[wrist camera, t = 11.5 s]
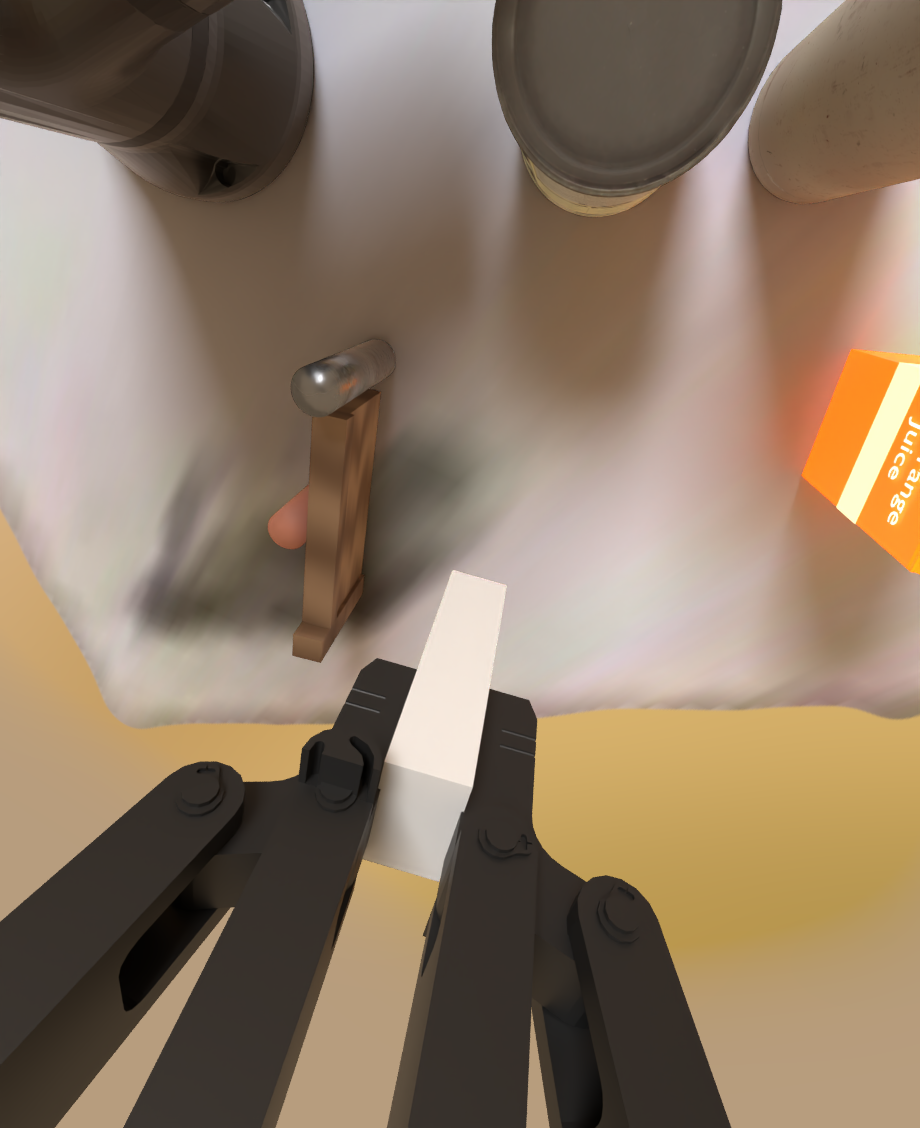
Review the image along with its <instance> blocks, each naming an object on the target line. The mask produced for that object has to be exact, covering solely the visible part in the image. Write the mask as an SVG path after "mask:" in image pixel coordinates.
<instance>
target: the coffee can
mask: <svg viewBox="0 0 920 1128" xmlns="http://www.w3.org/2000/svg"><path fill="white" fill-rule="evenodd" d="M781 10H782V0H496V3H495V9H494V17H493V25H492V60H493V70H494V77H495V83H496V89H497V93H498V97H499V101H500V104H501V108H502V111H503V114H504V117H505V119H506V122H507V124H508V126H509V128H510V130H511V132H512V134H513V136H514V138H515V140H516V141H517V143H518V144H519V146H520V148H521V152H522V155H523V159H524V162H525V165H526V167H527V169H528V172H529V174H530V176H531V177H532V179H533V181H534V182H535V184H536V186H537V187H538V189H539V190H540V191H541V192H542V193H543V194H544V195H545V196H546V197H547V198H548V199H549V200H550V201H551V202H553V203H554V204H555V205H557V206H558V207H560V208H562V209H564V210H566V211H568V212H571V213H574V214H577V215H581V216H587V217H603V216H610V215H614V214H617V213H620V212H623V211H626V210H628V209H630V208H632V207H634V206H636V205H637V204H639V203H641V202H642V201H644V200H645V199H646V198H648V197H649V196H650V195H651V194H653V193H654V192H655V191H656V190H658V189H659V187H660V186H662V185H664V184H667V183H668V182H670V181H672V180H674V179H676V178H677V177H679V176H681V175H682V174H684V173H685V172H686V171H688V170H690V169H691V168H692V167H694V166H695V165H696V164H698V163H699V162H700V161H701V160H702V159H704V158H705V157H706V156H707V155H708V154H709V153H710V152H711V151H712V150H713V149H714V148H715V147H716V146H717V145H718V144H719V143H720V142H721V141H722V140H723V139H724V138H725V136H726V135H727V134H728V133H729V131H730V130H731V129H732V127H733V126H734V124H735V123H736V122H737V120H738V119H739V117H740V116H741V115H742V113H743V111H744V110H745V108H746V107H747V105H748V104H749V102H750V100H751V98H752V96H753V95H754V93H755V91H756V89H757V87H758V85H759V83H760V80H761V78H762V76H763V74H764V71H765V69H766V66H767V63H768V61H769V58H770V55H771V52H772V49H773V45H774V42H775V38H776V34H777V30H778V26H779V20H780V15H781Z"/></svg>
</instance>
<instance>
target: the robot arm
mask: <svg viewBox="0 0 920 1128" xmlns="http://www.w3.org/2000/svg"><path fill="white" fill-rule="evenodd" d="M312 89H313V52H312V43H311V36H310V30H309V25H308V20H307V15H306V12H305V8H304V4H303V1H302V0H0V118H3V119H7V120H11V121H15V122H19V123H22V124H26V125H30V126H34V127H38V128H42V129H46V130H50V131H54V132H58V133H62V134H66V135H70V136H74V137H78V138H82V139H86V140H90V141H94V142H97V143H98V144H99V145H101V146H102V147H103V148H104V149H106V150H107V151H108V152H109V153H111V154H112V155H113V156H114V157H116V158H117V159H118V160H119V161H121V162H122V163H123V164H124V165H126V166H127V167H128V168H129V169H131V170H132V171H133V172H134V173H136V174H137V175H139V176H140V177H141V178H143V179H144V180H146V181H148V182H149V183H151V184H153V185H155V186H157V187H159V188H161V189H163V190H165V191H167V192H170V193H172V194H176V195H179V196H182V197H187V198H192V199H197V200H203V201H210V202H228V201H235V200H239V199H242V198H245V197H248V196H250V195H252V194H255V193H256V192H258V191H260V190H261V189H263V188H264V187H266V186H267V185H268V184H270V183H271V182H272V181H273V180H274V179H275V178H276V177H277V176H278V175H279V174H280V173H281V172H282V170H283V169H284V168H285V167H286V165H287V164H288V162H289V161H290V159H291V158H292V156H293V154H294V153H295V151H296V149H297V147H298V144H299V142H300V140H301V137H302V135H303V132H304V129H305V126H306V123H307V119H308V115H309V110H310V104H311V98H312ZM506 588H507V585H505V584H501V583H497V582H494V581H490V580H487V579H483V578H480V577H476V576H472V575H469V574H465V573H462V572H458V571H455V570H452V573H451V576H450V579H449V581H448V584H447V587H446V590H445V593H444V595H443V598H442V601H441V604H440V607H439V610H438V612H437V615H436V618H435V621H434V624H433V626H432V629H431V632H430V635H429V638H428V640H427V643H426V646H425V649H424V652H423V654H422V657H421V660H420V663H419V666H418V668H417V669H413V668H410V667H406V666H403V665H399V664H396V663H392V662H389V661H385V660H382V659H378V658H377V659H375V660H374V661H373V662H371V663H370V664H369V665H367V666H366V667H365V668H363V669H362V670H361V671H360V673H359V675H358V677H357V679H356V681H355V683H354V685H353V688H352V690H351V692H350V694H349V696H348V698H347V700H346V702H345V704H344V706H343V708H342V710H341V712H340V714H339V716H338V718H337V720H336V722H335V724H334V726H333V728H332V729H330V730H324V731H322V732H320V733H319V734H317V735H315V736H313V737H311V738H310V739H309V741H308V742H307V743H306V744H305V746H304V747H303V748H302V753H301V763H300V770H299V775H297V776H295V777H292V778H289V779H286V780H282V781H272V782H243V781H242V777H241V775H240V774H238V772H236V771H235V770H234V769H233V768H232V767H231V766H228V765H225V764H222V763H219V762H197V763H194V764H191V765H187V766H184V767H182V768H180V769H179V770H177V771H176V772H174V773H172V774H171V775H169V776H168V777H167V778H165V779H164V780H163V781H162V782H161V783H160V784H159V785H157V786H156V787H155V788H154V789H153V790H152V791H150V792H149V793H148V794H147V795H146V796H145V797H144V798H142V799H141V800H140V801H139V802H138V803H137V804H136V805H134V806H133V807H132V808H131V809H130V810H129V811H127V812H126V813H125V814H124V815H123V816H122V817H121V818H119V819H118V820H117V821H116V822H115V823H114V824H112V825H111V826H110V827H109V828H108V829H107V830H106V831H105V832H103V833H102V834H101V835H100V836H99V837H97V838H96V839H95V840H94V841H93V842H92V843H91V844H89V845H88V846H87V847H86V848H85V849H84V850H83V851H81V852H80V853H79V854H78V855H77V856H76V857H74V858H73V859H72V860H71V861H70V862H69V863H68V864H66V865H65V866H64V867H63V868H62V869H61V870H59V871H58V872H57V873H56V874H55V875H54V876H53V877H51V878H50V879H49V880H48V881H47V882H46V883H44V884H43V885H42V886H41V887H40V888H39V889H38V890H36V891H35V892H34V893H33V894H32V895H31V896H30V897H29V898H27V899H26V900H25V901H24V902H23V903H21V904H20V905H19V906H18V907H17V908H16V909H14V910H13V911H12V912H11V913H10V914H9V915H8V916H6V917H5V918H4V919H3V920H2V921H1V922H0V1128H55V1127H56V1125H57V1124H58V1123H59V1122H60V1120H61V1119H62V1118H63V1117H64V1115H65V1114H66V1113H67V1112H68V1110H69V1109H70V1108H71V1107H72V1105H73V1104H74V1103H75V1102H76V1100H77V1099H78V1098H79V1097H80V1095H81V1094H82V1093H83V1092H84V1090H85V1089H86V1088H87V1087H88V1085H89V1084H90V1083H91V1082H92V1080H93V1079H94V1078H95V1076H96V1075H97V1074H98V1073H99V1072H100V1070H101V1069H102V1068H103V1067H104V1065H105V1064H106V1063H107V1062H108V1060H109V1059H110V1058H111V1057H112V1055H113V1054H114V1053H115V1052H116V1050H117V1049H118V1048H119V1047H120V1045H121V1044H122V1043H123V1042H124V1040H125V1039H126V1038H127V1037H128V1035H129V1034H130V1032H132V1030H133V1029H134V1028H135V1026H136V1025H137V1024H138V1023H139V1021H140V1020H141V1019H142V1018H143V1016H144V1015H145V1014H146V1013H147V1011H148V1010H149V1009H150V1008H151V1006H152V1005H153V1004H154V1003H155V1001H156V1000H157V999H158V998H159V996H160V995H161V994H162V993H163V991H164V990H165V989H166V988H167V986H168V985H169V984H170V983H171V981H172V980H173V979H174V978H175V976H176V975H177V974H178V973H179V971H180V970H181V969H182V968H183V966H184V965H185V964H186V963H187V961H188V960H189V959H190V958H191V956H192V955H193V954H194V953H195V951H196V950H197V949H198V947H199V946H200V945H201V944H202V943H203V941H204V940H205V939H206V938H207V936H208V935H209V934H210V933H211V931H212V930H213V929H214V928H215V926H216V925H217V924H218V923H219V921H220V920H221V919H222V918H223V916H224V915H225V914H226V913H227V911H228V910H229V909H230V908H231V907H235V908H234V909H233V911H232V914H231V916H230V918H229V919H228V921H227V924H226V926H225V927H224V929H223V931H222V933H221V936H220V937H219V939H218V941H217V943H216V945H215V947H214V949H213V951H212V953H211V955H210V957H209V959H208V961H207V963H206V965H205V967H204V969H203V971H202V973H201V975H200V977H199V979H198V981H197V983H196V985H195V987H194V989H193V991H192V993H191V995H190V997H189V999H188V1001H187V1003H186V1005H185V1007H184V1008H183V1010H182V1013H181V1014H180V1016H179V1019H178V1020H177V1022H176V1024H175V1026H174V1028H173V1030H172V1032H171V1034H170V1036H169V1038H168V1040H167V1042H166V1044H165V1046H164V1048H163V1050H162V1052H161V1054H160V1056H159V1058H158V1060H157V1062H156V1064H155V1066H154V1068H153V1070H152V1072H151V1074H150V1076H149V1078H148V1080H147V1082H146V1084H145V1086H144V1088H143V1090H142V1092H141V1094H140V1096H139V1098H138V1100H137V1102H136V1104H135V1106H134V1107H133V1110H132V1112H131V1113H130V1115H129V1117H128V1119H127V1121H126V1123H125V1125H124V1127H123V1128H275V1127H276V1124H277V1121H278V1118H279V1115H280V1112H281V1109H282V1106H283V1103H284V1100H285V1097H286V1093H287V1091H288V1088H289V1085H290V1082H291V1079H292V1076H293V1073H294V1070H295V1067H296V1063H297V1061H298V1058H299V1054H300V1051H301V1048H302V1045H303V1042H304V1039H305V1036H306V1033H307V1030H308V1027H309V1024H310V1021H311V1018H312V1015H313V1011H314V1009H315V1006H316V1002H317V1000H318V997H319V994H320V990H321V988H322V985H323V982H324V979H325V975H326V972H327V969H328V966H329V963H330V960H331V957H332V954H333V951H334V948H335V945H336V942H337V939H338V936H339V933H340V930H341V927H342V924H343V921H344V918H345V914H346V911H347V908H348V905H349V902H350V899H351V896H352V893H353V890H354V886H355V881H356V877H357V873H358V870H359V867H360V864H361V861H362V859H364V860H367V861H371V862H374V863H377V864H381V865H384V866H387V867H391V868H394V869H397V870H401V871H404V872H408V873H411V874H414V875H418V876H421V877H424V878H428V879H431V880H434V881H438V882H439V880H440V883H439V888H438V893H437V898H436V901H435V903H434V906H433V909H432V912H431V914H430V917H429V920H428V923H427V926H426V928H425V931H424V934H423V936H425V937H426V940H425V945H424V950H423V954H422V959H421V964H420V969H419V974H418V979H417V984H416V988H415V994H414V999H413V1003H412V1008H411V1013H410V1018H409V1023H408V1028H407V1032H406V1038H405V1042H404V1048H403V1052H402V1057H401V1062H400V1067H399V1072H398V1077H397V1082H396V1086H395V1091H394V1096H393V1101H392V1106H391V1111H390V1116H389V1121H388V1126H387V1128H526V1117H527V1095H528V1072H529V1049H530V1026H531V1007H532V1014H533V1020H534V1027H535V1033H536V1040H537V1047H538V1053H539V1060H540V1067H541V1073H542V1080H543V1086H544V1093H545V1099H546V1106H547V1113H548V1119H549V1126H550V1128H731V1126H730V1123H729V1120H728V1117H727V1115H726V1112H725V1109H724V1106H723V1103H722V1100H721V1098H720V1095H719V1092H718V1089H717V1086H716V1083H715V1081H714V1078H713V1075H712V1072H711V1069H710V1066H709V1064H708V1061H707V1058H706V1055H705V1052H704V1049H703V1046H702V1044H701V1041H700V1038H699V1035H698V1032H697V1029H696V1027H695V1024H694V1021H693V1018H692V1015H691V1012H690V1010H689V1007H688V1004H687V1001H686V998H685V995H684V993H683V990H682V987H681V984H680V981H679V978H678V976H677V973H676V970H675V968H674V964H673V962H672V958H671V956H670V953H669V950H668V947H667V944H666V942H665V939H664V936H663V933H662V930H661V927H660V924H659V922H658V919H657V917H656V915H655V913H654V912H653V909H652V908H651V906H650V904H649V902H648V901H647V900H646V899H645V898H644V897H643V896H642V895H641V893H640V892H639V891H638V890H637V889H636V888H634V887H633V886H631V885H629V884H628V883H626V882H625V881H623V880H622V879H618V878H614V877H610V876H606V875H605V876H599V877H593V878H592V879H590V880H589V881H588V882H585V881H584V880H583V879H581V878H580V877H578V876H576V875H575V874H573V873H572V872H570V871H569V870H567V869H565V868H564V867H563V866H561V865H560V864H559V863H557V862H556V861H555V860H554V859H552V858H551V857H550V856H549V855H548V853H547V852H546V851H545V850H544V849H543V848H542V846H541V844H540V842H539V841H538V839H537V837H536V834H535V831H534V828H533V824H532V804H533V787H534V767H535V758H534V757H535V750H536V742H535V741H536V731H537V730H536V729H537V718H536V715H535V713H534V711H533V708H532V706H531V704H530V701H529V700H527V699H523V698H520V697H516V696H513V695H509V694H506V693H502V692H499V691H495V690H492V689H489V688H490V683H491V677H492V671H493V665H494V659H495V653H496V647H497V641H498V635H499V630H500V624H501V618H502V612H503V606H504V600H505V594H506ZM440 877H441V878H440Z"/></svg>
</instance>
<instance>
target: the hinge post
mask: <svg viewBox="0 0 920 1128" xmlns="http://www.w3.org/2000/svg"><path fill="white" fill-rule="evenodd" d="M395 364H396V358H395V354H394V351H393V350H392V348H391V347H390V346H389V345H388V344H387V343H386V342H384V341H382V340H378V339H373V340H369V341H367V342H364V343H362V344H359V345H357V346H354V347H352V348H349V349H347V350H344V351H342V352H339V353H337V354H334V355H332V356H329V357H327V358H324V359H322V360H319V361H317V362H314V363H312V364H309V365H307V366H304V367H302V368H300V369H299V370H298V371H297V372H296V373H295V374H294V376H293V378H292V382H291V393H292V397H293V399H294V401H295V403H296V405H297V406H298V407H299V408H300V409H301V410H302V411H303V412H304V413H306V414H308V415H310V416H313V417H325V416H328V415H329V414H331V413H333V412H334V411H336V410H337V409H339V408H340V407H342V406H343V405H345V404H346V403H348V402H350V401H351V400H353V399H354V398H356V397H357V396H359V395H360V394H362V393H363V392H365V391H366V390H368V389H370V388H371V387H373V386H374V385H376V384H377V383H379V382H380V381H382V380H383V379H385V378H387V377H388V376H389V375H390V374H391V373H392V372H393V370H394V368H395Z"/></svg>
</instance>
